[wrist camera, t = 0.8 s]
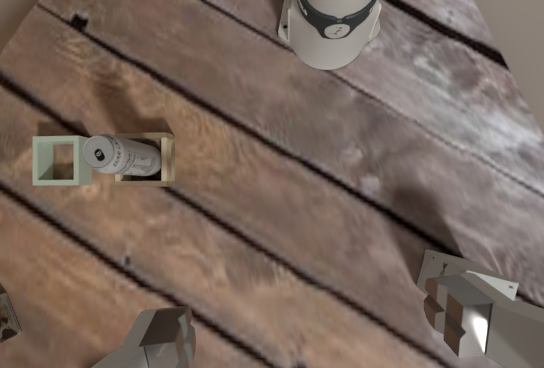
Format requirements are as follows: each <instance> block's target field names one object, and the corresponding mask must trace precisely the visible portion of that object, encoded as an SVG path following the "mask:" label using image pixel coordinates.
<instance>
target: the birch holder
mask: <svg viewBox="0 0 544 368" xmlns="http://www.w3.org/2000/svg"><path fill="white" fill-rule="evenodd" d="M115 136H118V137H122V138H125V139H129V140H132V141H161V181H131V175H122V174H115V186H175V136H174V135H172V134H169V133H167V132H158V133H115Z"/></svg>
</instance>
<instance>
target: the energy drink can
mask: <svg viewBox="0 0 544 368" xmlns="http://www.w3.org/2000/svg"><path fill="white" fill-rule="evenodd" d="M82 157H83V159H84V161H85V163H86V164H87V165H88V166H90V167H92V168H93V169H94V170H96V171H97V172H100V173H107V174H122V175H137V176H152V175H154V174H156V173H157V172H158V171H159V170H160V169H161V153H160V151H159V150H158V149H157V148H155V147H153V146H150V145H147V144H143V143H140V142H136V141H132V140H129V139H125V138H122V137H118V136H115V135H111V134H101V135H98V136H93V137H91V138H89V139H88V140H87V141H86V142H85V143H84V145H83V148H82Z"/></svg>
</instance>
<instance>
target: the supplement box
mask: <svg viewBox="0 0 544 368" xmlns="http://www.w3.org/2000/svg"><path fill="white" fill-rule="evenodd" d="M468 272H470V273H474V274H476V275H477V276H479V277H480V278H481V279H483V280H484V281H486V282H487V283H489V284H490V285H491V286H493V287H494V288H496V289H497V290H499V291H500V292H501V293H503V294H504V295H506V296H507V297H508V298H510V299H511V300H513V301H514V299H515V295H516V292H517V288H518V285H519V283H518V282H516V281H514V280H512V279H509V278H507V277H505V276H502V275H500V274H498V273H496V272H493V271H491V270H489V269H486V268H484V267H482V266H479V265H477V264H475V263H473V262H470V261H468V260H466V259H462V258H459V257H455V256H451V255H448V254H444V253H440V252H436V251H433V250H429V249H426V250H425V255H424V259H423V263H422V267H421V271H420V274H419V278H418V281H417V284H416V286H417V287H418V288H419V289H420V290H421V291H423V292H424V293H425V294H426V295H427V296H428V293H427V291H426V290H425V282H426V280H427V278H434V277H442V276H450V275H455V274H461V273H468Z"/></svg>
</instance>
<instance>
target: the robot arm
mask: <svg viewBox="0 0 544 368" xmlns="http://www.w3.org/2000/svg"><path fill="white" fill-rule="evenodd" d="M380 10H381V4H380V3H379V0H284V3H283V9H282V14H281V19H280V24H279V30H278V37H279V39H280V40H281V41H282V42H284V43H285V44H287V45H289V46H290V47H291V48H292V49H293V50H294V52H295V53H296V55H297V56H298V57H299V58H300V59H301V60H302V61H303V62H304V63H306V64H307V65H309V66H311V67H314V68H317V69H322V70H331V69H337V68H340V67H343V66H345V65H347V64H348V63H350V62H351V61H352V60H354V59H355V58H356V57H357V56H358V54H359V53H360V52H361V50H362V49H363V47H364V46H365V44H366V43H367V42H369V41H370V40H372V39H373V38H374V37H376V36H377V35H378V33H379V31H380V23H379V18H378V15H379V13H380ZM285 26H287V28H286V29H285V28H283V27H285ZM425 290H426V291H427V293H428V296H427V297H426V298H425V300H424V311H425V315H426V318H427V320H428V321H429V323H430V325H431V326H432V327H433V328H434V329H435V330H436V331H438V332H440V333H442V334H444V341H445V342H446V344H447V345H448V346H449V347H450V348H451V349H452V350H453V352H454V353H455V354H456V355H457V356H458V357H468V356H478V355H486V357H488V358H490V359H491V360H493V361H495V362H496V363H498V364H499V365H501V366H503V367H504V368H544V309H542V308H539V307H536V306H533V305H530V304H527V303H524V302H521V301H513V300H511V299H510V298H508V297H507V296H506V295H504V294H503V293H501V292H500V291H499V290H497V289H496V288H494V287H493V286H491V285H490V284H489V283H487V282H486V281H484V280H483V279H481V278H480V277H479V276H477V275H476V274H474V273H470V272H468V273H461V274H455V275H450V276H442V277H434V278H427V280H426V282H425ZM191 320H192V313H191V308H190V307H189V306H183V307H172V308H162V309H153V310H144V311H142V312H141V313H140V314H139V316H138V318H137V319H136V321H135V323H134V325H133V326H132V328H131V330H130V332H129V333H128V335H127V337H126V339H125V340H124V342H123V344H122V346H121V347H120V349H118V350H114V351H112V352H111V353H110V354H108V355H107V356H106V357H104V358H103V359H102V360H100V361H99V362H98V363H96V364H95V365H94V366H92V367H91V368H189V364H190V363H191V362H192V361H193V360H194V355H195V348H196V335H195V329H194V327H193V326H192V325H190V323H191Z"/></svg>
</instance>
